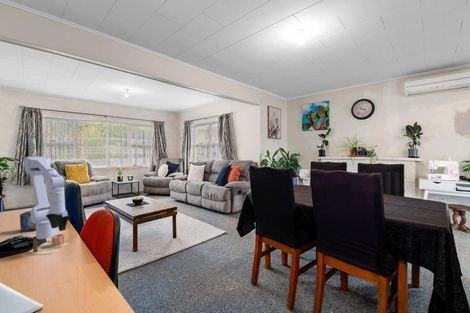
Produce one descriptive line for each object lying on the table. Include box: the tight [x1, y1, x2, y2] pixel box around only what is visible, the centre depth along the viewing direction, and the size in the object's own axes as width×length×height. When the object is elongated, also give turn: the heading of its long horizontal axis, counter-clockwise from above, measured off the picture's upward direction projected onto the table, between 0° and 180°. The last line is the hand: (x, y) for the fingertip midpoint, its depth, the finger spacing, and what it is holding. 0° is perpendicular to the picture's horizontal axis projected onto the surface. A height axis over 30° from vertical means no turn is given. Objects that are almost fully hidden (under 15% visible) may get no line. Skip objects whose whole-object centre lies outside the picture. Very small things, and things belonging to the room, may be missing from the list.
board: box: [20, 239, 73, 257], centre depth 104 cm, size 16×12×6 cm
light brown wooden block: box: [51, 233, 67, 246], centre depth 107 cm, size 5×5×4 cm
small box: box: [19, 210, 36, 233], centre depth 131 cm, size 11×6×10 cm, turn 105°
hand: (58, 229), depth 107 cm, fingers open, 7 cm apart
